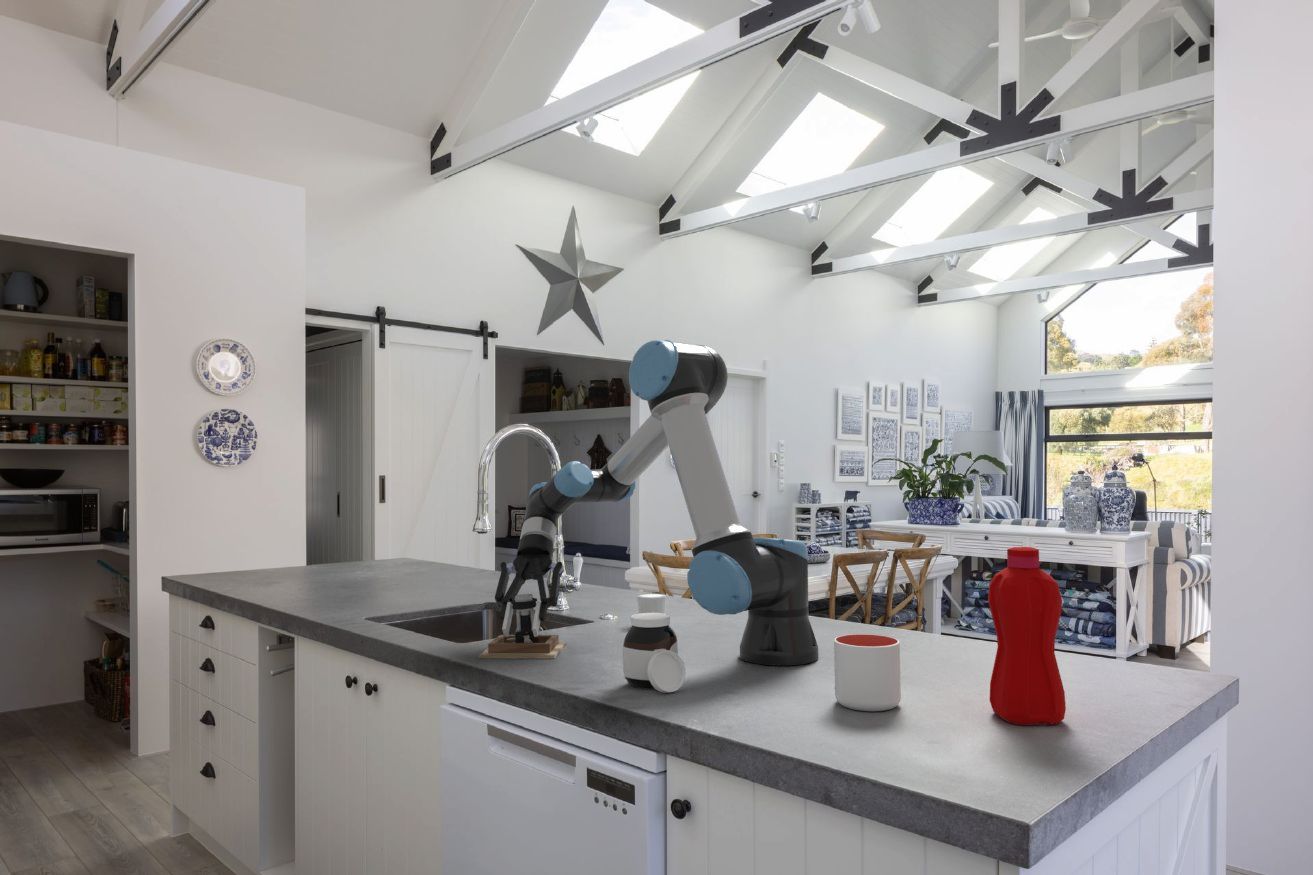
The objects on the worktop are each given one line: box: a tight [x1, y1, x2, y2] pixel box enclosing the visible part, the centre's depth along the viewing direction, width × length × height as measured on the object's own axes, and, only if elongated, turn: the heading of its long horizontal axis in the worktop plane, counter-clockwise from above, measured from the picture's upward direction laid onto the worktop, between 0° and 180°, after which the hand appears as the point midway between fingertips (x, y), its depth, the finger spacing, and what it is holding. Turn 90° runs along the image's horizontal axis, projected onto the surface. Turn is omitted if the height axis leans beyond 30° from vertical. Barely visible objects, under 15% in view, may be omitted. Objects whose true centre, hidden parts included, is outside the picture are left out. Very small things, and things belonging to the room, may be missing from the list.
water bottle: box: [987, 546, 1067, 726], centre depth 130 cm, size 9×11×25 cm
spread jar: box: [622, 613, 687, 694], centre depth 150 cm, size 12×11×12 cm
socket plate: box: [478, 634, 567, 659], centre depth 179 cm, size 13×15×2 cm
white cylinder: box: [636, 592, 667, 614], centre depth 206 cm, size 7×7×7 cm
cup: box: [833, 633, 902, 712], centre depth 137 cm, size 10×10×10 cm
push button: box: [507, 593, 539, 643], centre depth 179 cm, size 7×5×10 cm
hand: (520, 632), depth 175 cm, fingers closed on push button, 5 cm apart
